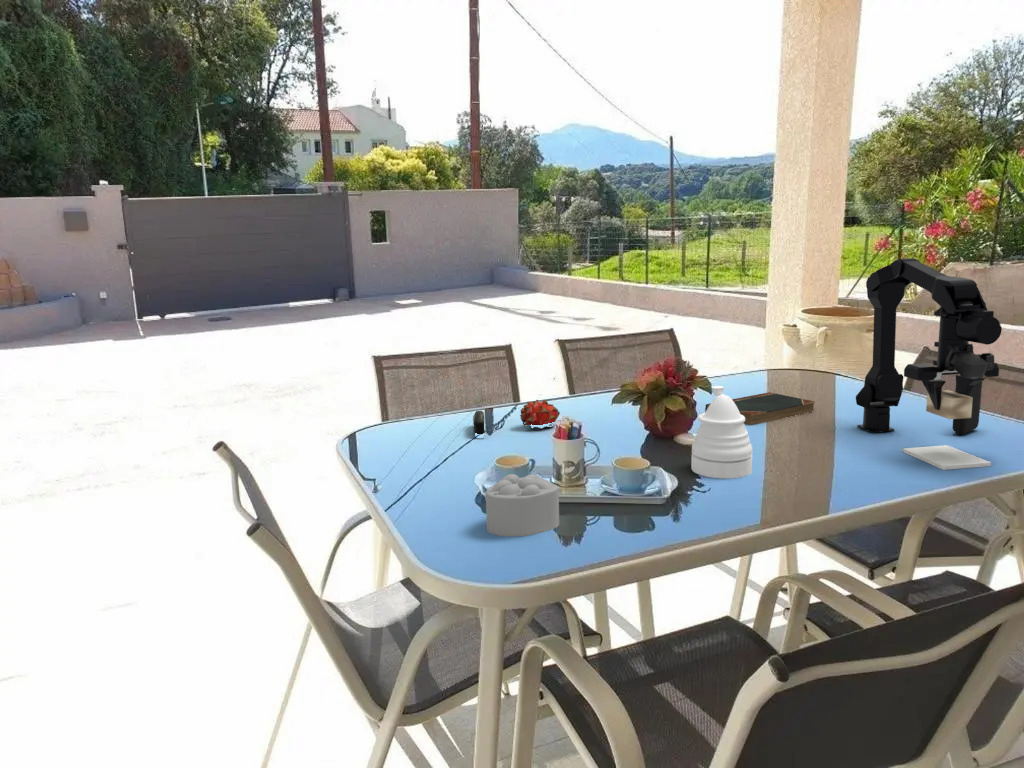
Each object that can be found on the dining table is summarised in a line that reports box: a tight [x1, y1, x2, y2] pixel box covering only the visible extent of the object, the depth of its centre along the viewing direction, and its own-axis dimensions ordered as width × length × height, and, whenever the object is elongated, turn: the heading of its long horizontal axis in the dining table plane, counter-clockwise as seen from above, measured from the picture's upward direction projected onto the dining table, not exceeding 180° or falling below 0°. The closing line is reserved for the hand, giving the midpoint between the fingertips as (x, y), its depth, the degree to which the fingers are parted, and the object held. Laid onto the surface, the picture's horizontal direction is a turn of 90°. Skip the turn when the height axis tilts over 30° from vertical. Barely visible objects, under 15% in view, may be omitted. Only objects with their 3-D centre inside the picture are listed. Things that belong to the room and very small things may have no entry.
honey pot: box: [690, 385, 754, 480], centre depth 173 cm, size 13×13×18 cm
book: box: [704, 392, 816, 426], centre depth 223 cm, size 17×4×25 cm
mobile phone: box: [472, 410, 485, 434], centre depth 213 cm, size 5×3×15 cm
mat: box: [902, 444, 992, 471], centre depth 177 cm, size 14×11×1 cm
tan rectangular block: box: [925, 389, 973, 420], centre depth 175 cm, size 5×8×5 cm, turn 7°
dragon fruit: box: [519, 399, 561, 426], centre depth 214 cm, size 8×8×12 cm
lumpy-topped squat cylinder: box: [485, 473, 560, 537], centre depth 145 cm, size 10×13×9 cm
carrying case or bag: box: [952, 377, 983, 436], centre depth 195 cm, size 11×3×15 cm, turn 127°
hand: (948, 409), depth 175 cm, fingers closed on tan rectangular block, 5 cm apart
